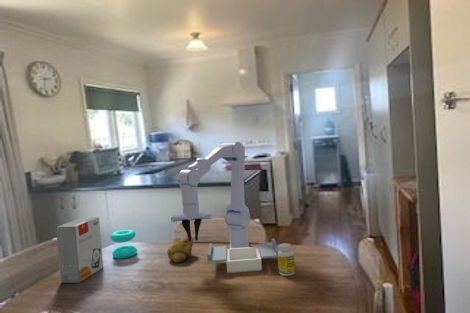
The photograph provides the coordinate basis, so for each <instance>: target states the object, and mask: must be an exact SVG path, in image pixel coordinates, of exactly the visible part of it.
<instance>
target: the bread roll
mask: <svg viewBox="0 0 470 313" xmlns="http://www.w3.org/2000/svg"><path fill="white" fill-rule="evenodd" d="M193 245H194V239H193V237H192V236H191V241H189V238H188V235H186V236H184V237H182V238H180V239H179V240H175V241H172V242H171V243H170V245H169V246H168V249H167V256H168V258H169V260H171V261H172V262H173V263H174V262H175V263H182V262H185V260H186V259H187V258H190V257H191V255H192V250H193Z"/></svg>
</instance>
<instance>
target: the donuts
mask: <svg viewBox="0 0 470 313" xmlns="http://www.w3.org/2000/svg"><path fill="white" fill-rule="evenodd" d="M135 237H136V232H135V231H134V230H133V229H120V230H115V231H113V233H111V235H110V239H111V241H112V242H114V243H126V242H129V241H132V240H133V239H134V238H135ZM137 253H138V249H137V247H136V246H135V245H131V244H124V245H120V246H117V247H115V248H114V249H113V250H112V253H111V254H112V257H113V258H115V259H119V260H121V259H128V258H131V257H134V256H135V255H136V254H137Z"/></svg>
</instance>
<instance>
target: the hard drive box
mask: <svg viewBox="0 0 470 313" xmlns="http://www.w3.org/2000/svg"><path fill="white" fill-rule="evenodd" d="M100 225H101V224H100V217H99V216H82V217H79V218H77V219H74V220H72V221H69V222H66V223H64V224H61V225H58V226H56V228H55V230H56V231H55V232H56V242H57V252H58V263H59V264H58V266H59V276H60V282H61V283H68V284H69V283H71V284H73V283H74V284H80V283H81V282H82V281H85V280H86V279H88V278H90V277H91V276H92V275H94V274H95V273H97V272H99V271H100V270H101V269H103V268H104V260H103V250H102V248H103V247H102V236H101V228H100V227H101V226H100Z"/></svg>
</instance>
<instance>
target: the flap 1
mask: <svg viewBox="0 0 470 313" xmlns="http://www.w3.org/2000/svg"><path fill="white" fill-rule="evenodd" d="M206 257H207V258H206V260H207V263H220V262H226V257H227V246H226V245H221V246H218V245H217V246H213V243H212V242H209V244H208V250H207V256H206Z"/></svg>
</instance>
